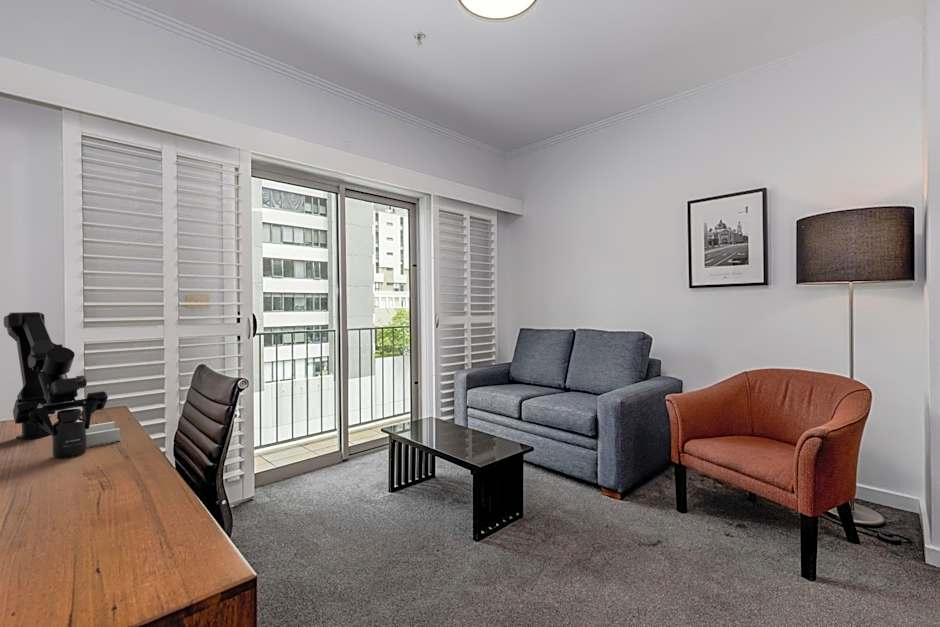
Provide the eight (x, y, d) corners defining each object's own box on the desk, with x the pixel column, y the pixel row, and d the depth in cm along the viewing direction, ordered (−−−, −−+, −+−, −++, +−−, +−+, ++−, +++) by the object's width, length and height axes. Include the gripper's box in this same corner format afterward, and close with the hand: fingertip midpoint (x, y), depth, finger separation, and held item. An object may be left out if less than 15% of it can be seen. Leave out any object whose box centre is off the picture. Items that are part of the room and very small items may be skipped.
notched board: (75, 449, 127) (75, 436, 127) (72, 440, 136) (71, 428, 136) (120, 441, 134) (119, 429, 134) (114, 432, 143) (114, 421, 143)
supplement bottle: (71, 459, 119) (69, 413, 119) (45, 459, 119) (43, 413, 119) (93, 450, 126) (91, 407, 126) (69, 450, 126) (67, 407, 126)
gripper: (14, 372, 116) (29, 421, 111) (104, 363, 132) (121, 405, 126) (7, 399, 121) (21, 447, 115) (95, 387, 136) (110, 429, 131)
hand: (71, 431), depth 122 cm, fingers closed on supplement bottle, 7 cm apart
